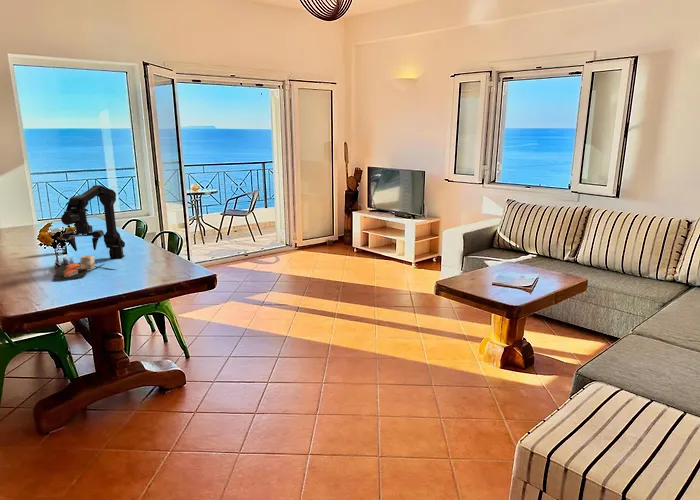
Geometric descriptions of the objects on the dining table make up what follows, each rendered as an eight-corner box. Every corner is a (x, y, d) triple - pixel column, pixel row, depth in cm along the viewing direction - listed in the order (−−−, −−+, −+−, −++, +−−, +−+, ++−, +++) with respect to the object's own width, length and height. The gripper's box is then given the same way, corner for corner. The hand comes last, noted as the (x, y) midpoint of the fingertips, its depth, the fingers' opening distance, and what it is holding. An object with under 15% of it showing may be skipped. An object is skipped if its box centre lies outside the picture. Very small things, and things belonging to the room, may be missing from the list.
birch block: (94, 267, 257) (94, 256, 256) (90, 269, 252) (90, 258, 251) (84, 266, 256) (84, 255, 255) (80, 268, 251) (80, 257, 250)
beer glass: (62, 254, 289) (58, 230, 286) (52, 254, 291) (48, 230, 287) (71, 251, 296) (66, 228, 292) (61, 251, 297) (57, 227, 294)
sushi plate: (60, 268, 262) (59, 262, 261) (121, 261, 273) (120, 255, 272) (52, 283, 236) (51, 276, 235) (119, 275, 248) (118, 268, 247)
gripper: (105, 217, 257) (109, 246, 261) (67, 219, 254) (72, 248, 258) (97, 221, 246) (102, 250, 250) (58, 223, 244) (64, 253, 248)
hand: (85, 250), depth 252 cm, fingers open, 9 cm apart
